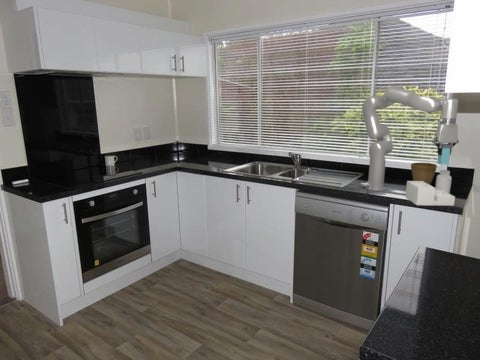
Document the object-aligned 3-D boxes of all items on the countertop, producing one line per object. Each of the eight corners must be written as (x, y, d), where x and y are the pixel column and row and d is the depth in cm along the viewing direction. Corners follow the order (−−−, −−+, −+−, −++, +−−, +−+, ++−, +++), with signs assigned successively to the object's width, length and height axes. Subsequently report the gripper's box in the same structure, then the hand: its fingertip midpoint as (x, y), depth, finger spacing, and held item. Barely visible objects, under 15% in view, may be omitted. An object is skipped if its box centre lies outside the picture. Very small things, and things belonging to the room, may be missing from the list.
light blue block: (440, 164, 193) (443, 144, 190) (437, 163, 197) (439, 143, 194) (448, 164, 192) (450, 144, 190) (444, 163, 196) (447, 143, 194)
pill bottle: (445, 197, 207) (448, 172, 204) (432, 194, 214) (434, 170, 210) (451, 194, 212) (454, 170, 208) (438, 192, 218) (441, 168, 215)
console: (416, 205, 193) (418, 188, 191) (405, 197, 209) (407, 181, 206) (453, 205, 192) (456, 188, 189) (439, 197, 207) (441, 181, 205)
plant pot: (421, 184, 237) (423, 161, 233) (439, 189, 223) (442, 165, 219) (403, 186, 232) (405, 163, 229) (421, 192, 219) (423, 167, 215)
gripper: (435, 122, 186) (431, 156, 190) (467, 122, 185) (463, 155, 189) (428, 121, 193) (425, 153, 198) (460, 121, 192) (456, 153, 196)
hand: (443, 154), depth 193 cm, fingers closed on light blue block, 4 cm apart
